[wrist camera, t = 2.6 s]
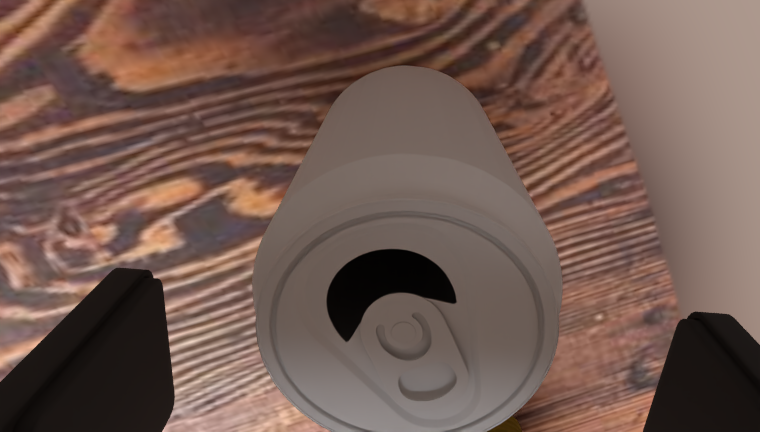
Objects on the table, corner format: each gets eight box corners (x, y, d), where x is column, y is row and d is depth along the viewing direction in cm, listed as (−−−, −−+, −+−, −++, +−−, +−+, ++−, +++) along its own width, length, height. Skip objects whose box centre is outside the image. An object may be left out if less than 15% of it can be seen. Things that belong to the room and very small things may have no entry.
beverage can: (453, 31, 19) (514, 114, 9) (514, 189, 22) (623, 415, 11) (292, 104, 21) (165, 259, 10) (365, 246, 23) (328, 500, 12)
